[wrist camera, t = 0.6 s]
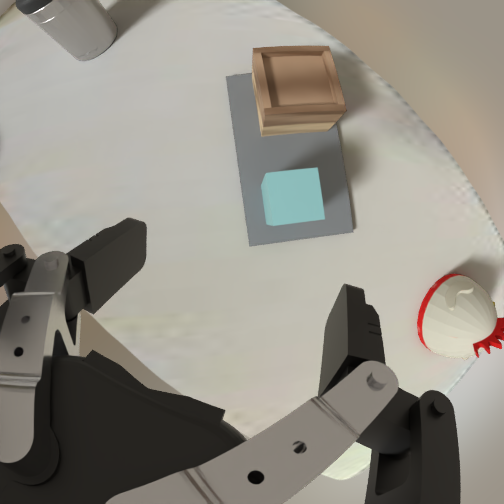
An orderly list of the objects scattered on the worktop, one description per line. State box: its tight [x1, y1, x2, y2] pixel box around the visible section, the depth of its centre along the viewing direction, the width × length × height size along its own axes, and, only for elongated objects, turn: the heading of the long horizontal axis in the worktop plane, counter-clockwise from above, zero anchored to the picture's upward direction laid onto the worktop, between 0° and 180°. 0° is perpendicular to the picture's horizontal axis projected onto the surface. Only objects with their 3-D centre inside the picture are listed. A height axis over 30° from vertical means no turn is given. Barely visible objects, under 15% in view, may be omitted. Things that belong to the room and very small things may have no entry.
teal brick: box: [261, 168, 325, 226], centre depth 31 cm, size 5×5×10 cm
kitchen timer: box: [417, 274, 504, 360], centre depth 32 cm, size 14×14×15 cm
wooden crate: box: [252, 46, 347, 137], centre depth 31 cm, size 9×9×8 cm
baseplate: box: [226, 73, 353, 246], centre depth 36 cm, size 24×14×1 cm, turn 8°
